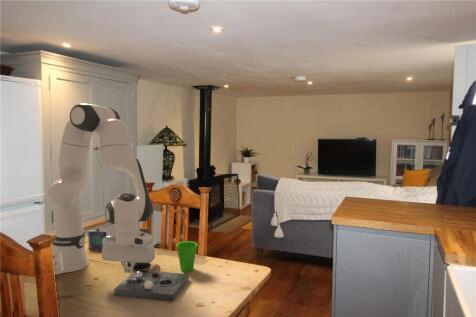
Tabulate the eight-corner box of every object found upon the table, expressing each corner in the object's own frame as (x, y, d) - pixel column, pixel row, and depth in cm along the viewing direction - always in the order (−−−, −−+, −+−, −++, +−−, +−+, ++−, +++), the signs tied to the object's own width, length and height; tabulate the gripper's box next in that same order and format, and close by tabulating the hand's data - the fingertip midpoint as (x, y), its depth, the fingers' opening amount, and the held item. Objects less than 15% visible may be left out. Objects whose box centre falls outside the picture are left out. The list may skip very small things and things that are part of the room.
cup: (193, 274, 150) (193, 248, 149) (172, 272, 152) (172, 247, 151) (200, 266, 159) (200, 242, 158) (180, 264, 161) (180, 240, 160)
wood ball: (148, 275, 143) (148, 265, 142) (152, 271, 147) (152, 261, 146) (157, 276, 142) (157, 266, 142) (161, 272, 146) (161, 262, 146)
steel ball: (132, 281, 137) (132, 272, 137) (136, 277, 141) (136, 269, 140) (140, 281, 137) (140, 273, 137) (144, 278, 140) (144, 270, 140)
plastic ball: (142, 290, 130) (142, 282, 130) (146, 286, 133) (146, 278, 133) (150, 291, 129) (150, 283, 129) (154, 287, 132) (154, 279, 132)
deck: (114, 295, 131) (114, 288, 131) (136, 275, 149) (136, 269, 148) (172, 301, 127) (172, 294, 127) (188, 280, 145) (188, 274, 145)
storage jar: (137, 259, 166) (137, 227, 164) (154, 263, 162) (154, 230, 160) (121, 267, 157) (121, 233, 155) (139, 271, 153) (139, 236, 151)
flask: (87, 249, 179) (87, 227, 178) (90, 247, 182) (90, 226, 181) (105, 250, 178) (105, 228, 177) (108, 248, 181) (107, 226, 180)
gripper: (97, 238, 137) (99, 273, 138) (149, 240, 134) (150, 277, 135) (106, 233, 143) (107, 267, 145) (155, 235, 140) (156, 270, 142)
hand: (128, 272), depth 140 cm, fingers closed
